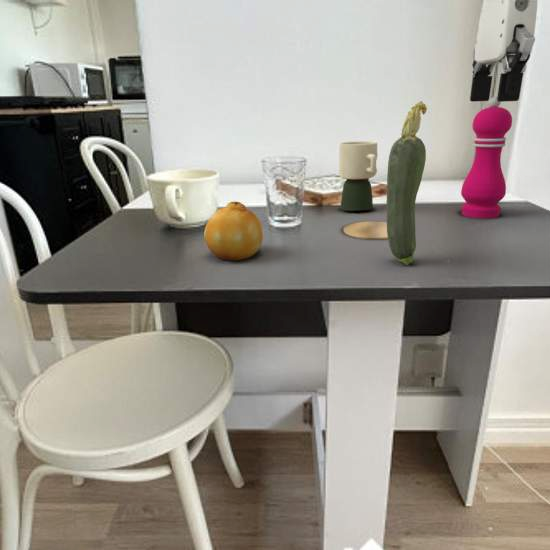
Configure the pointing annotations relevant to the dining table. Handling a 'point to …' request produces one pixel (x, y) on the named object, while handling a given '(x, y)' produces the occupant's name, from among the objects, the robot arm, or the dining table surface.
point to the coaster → (367, 230)
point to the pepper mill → (487, 163)
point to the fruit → (233, 232)
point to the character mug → (357, 174)
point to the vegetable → (405, 186)
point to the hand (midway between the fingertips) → (492, 101)
